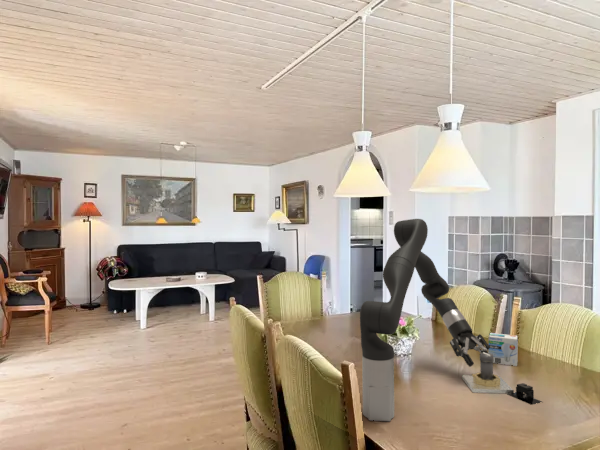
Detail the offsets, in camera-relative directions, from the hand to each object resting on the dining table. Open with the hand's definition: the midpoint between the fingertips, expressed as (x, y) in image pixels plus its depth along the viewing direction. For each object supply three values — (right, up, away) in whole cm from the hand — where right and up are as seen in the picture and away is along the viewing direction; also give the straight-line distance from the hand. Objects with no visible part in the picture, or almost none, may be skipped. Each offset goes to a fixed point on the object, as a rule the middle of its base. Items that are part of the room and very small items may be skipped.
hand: (481, 363), depth 151 cm
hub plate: (+1, -7, -2) cm, 7 cm away
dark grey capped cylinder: (+1, -6, -2) cm, 6 cm away
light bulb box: (+19, -7, +23) cm, 30 cm away
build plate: (+9, -8, -13) cm, 17 cm away
